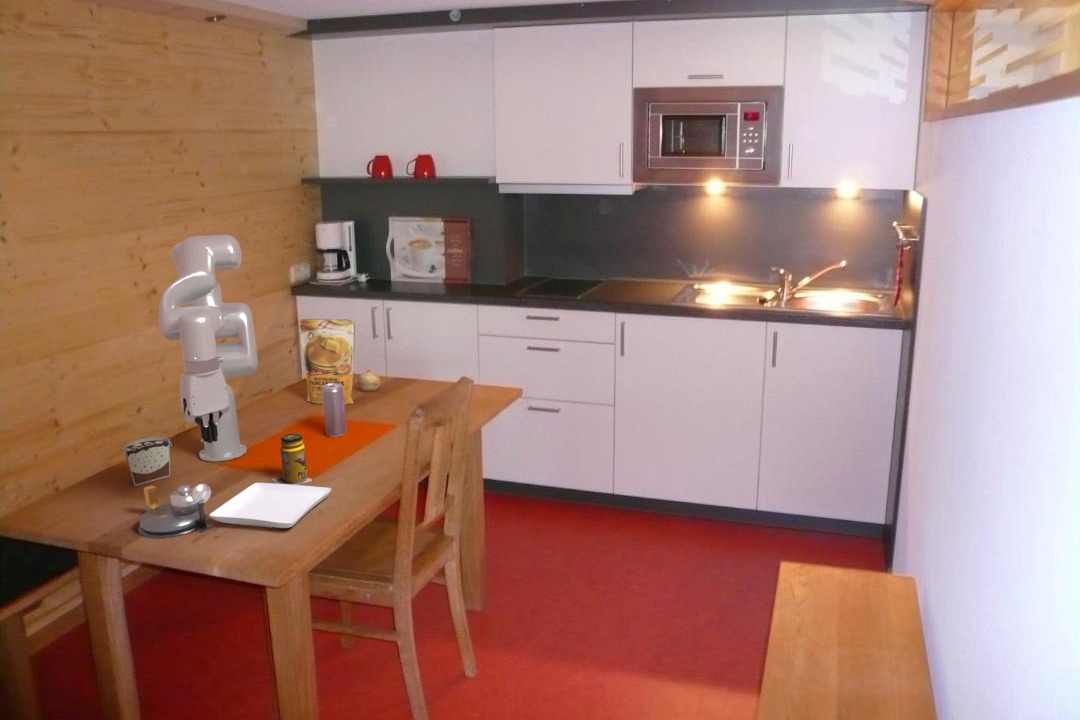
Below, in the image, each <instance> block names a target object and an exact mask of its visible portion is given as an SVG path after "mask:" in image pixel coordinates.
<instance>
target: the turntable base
mask: <svg viewBox="0 0 1080 720" xmlns="http://www.w3.org/2000/svg"><path fill="white" fill-rule="evenodd" d="M205 519H206V523H208V521H209V515H208V514H207V513H206V512H205ZM199 525H201V524H199ZM197 526H198V525H197ZM195 530H196V528H194V527H193V528H191V529H188V530H185V531H182V532H178V533H172V534H161V535H158V534H149V533H146V532H144V531H142V530H141V527H140V525H139V526H138V533H139V534H140V535H141V536H142V535H143V537H146V538H149V539H170V538H175V537H176V536H177V537H181V536H184V534H185V535H188V534H190V532H191V533H193V532H195ZM192 531H193V532H192ZM196 531H197V530H196ZM187 533H188V534H187Z"/></svg>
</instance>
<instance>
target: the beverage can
mask: <svg viewBox="0 0 1080 720" xmlns="http://www.w3.org/2000/svg"><path fill="white" fill-rule="evenodd" d="M322 388H323V389H322V395H323V404H322V405H323V416H324V427H325V434H326V436H327V435H328V437H329V436H331V437H330V438H338V437H337V436H340V437H342V435H343V436H345V435H346V433H347V422H346V412H345V411H346V410H345V408H346V407H345V405H344V396H343V388H342V385H341V384H338V383H332V384H326V385H324V386H323V387H322ZM344 434H345V435H344Z"/></svg>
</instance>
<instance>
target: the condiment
mask: <svg viewBox="0 0 1080 720" xmlns="http://www.w3.org/2000/svg"><path fill="white" fill-rule="evenodd" d="M280 440H281V444H280V445H281V447H280V458H281V467H282V476H281V477H275V478H271V480H272V482H274V484H288V485H301V484H305V483H310V482H313V479H312V478H310V477H309V478H310V479H309V478H307V476H308V467H307V457H306V448H305V444H304V441H303V435H301V433H294V432H293V433H286V434H284V435H282V436H281V438H280Z"/></svg>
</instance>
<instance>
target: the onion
mask: <svg viewBox="0 0 1080 720" xmlns="http://www.w3.org/2000/svg"><path fill="white" fill-rule="evenodd" d="M364 370H365V371H366V372H363V373H362V374H360V375H359V376H358V378H357V381H356V382H357V386H358V388H359V389H360V390H361V391H362V392H363V393H367V392H368V393H371V392H375V391H376V390H378V389H379V388H380V387H381V378H380V376H379V375H378V374H377V373H376V372H374V371H373V370H371V369H368V370H367V369H364Z"/></svg>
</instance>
